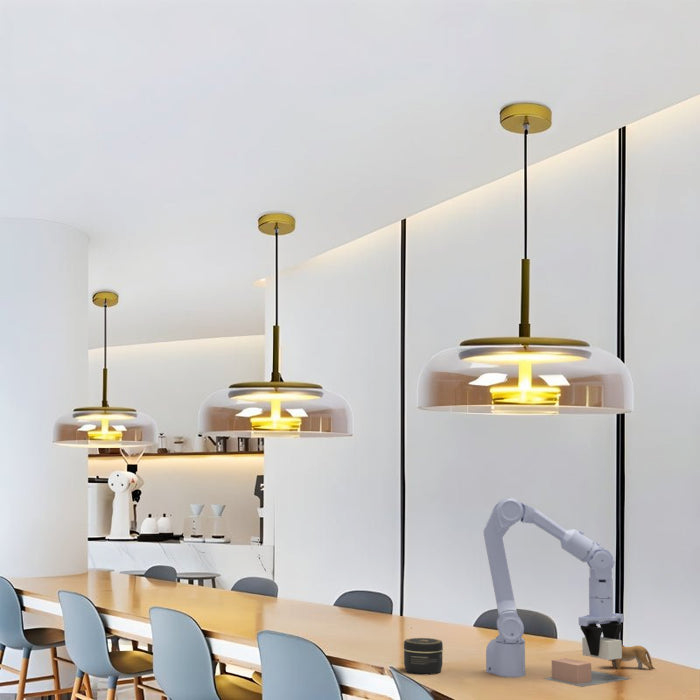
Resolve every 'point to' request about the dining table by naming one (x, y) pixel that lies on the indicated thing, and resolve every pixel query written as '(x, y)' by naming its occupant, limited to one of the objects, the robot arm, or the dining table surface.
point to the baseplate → (594, 679)
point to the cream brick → (605, 648)
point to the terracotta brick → (571, 670)
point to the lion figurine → (633, 653)
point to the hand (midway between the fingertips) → (601, 654)
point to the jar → (423, 655)
